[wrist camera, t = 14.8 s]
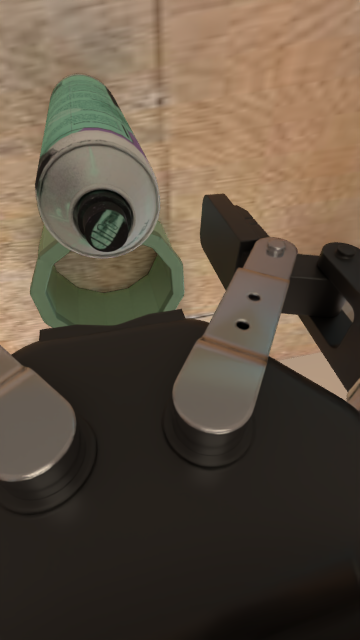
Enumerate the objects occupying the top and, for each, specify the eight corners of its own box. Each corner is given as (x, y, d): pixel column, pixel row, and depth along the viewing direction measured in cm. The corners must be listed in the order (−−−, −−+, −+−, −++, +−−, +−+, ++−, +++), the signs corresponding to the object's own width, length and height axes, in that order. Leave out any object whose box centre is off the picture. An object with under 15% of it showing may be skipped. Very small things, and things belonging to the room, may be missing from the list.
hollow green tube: (54, 163, 28) (52, 200, 22) (186, 215, 35) (209, 253, 29) (26, 284, 35) (19, 333, 30) (139, 307, 42) (150, 351, 37)
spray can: (53, 147, 27) (39, 291, 13) (45, 67, 23) (16, 150, 10) (117, 154, 29) (165, 289, 15) (120, 79, 25) (186, 166, 11)
